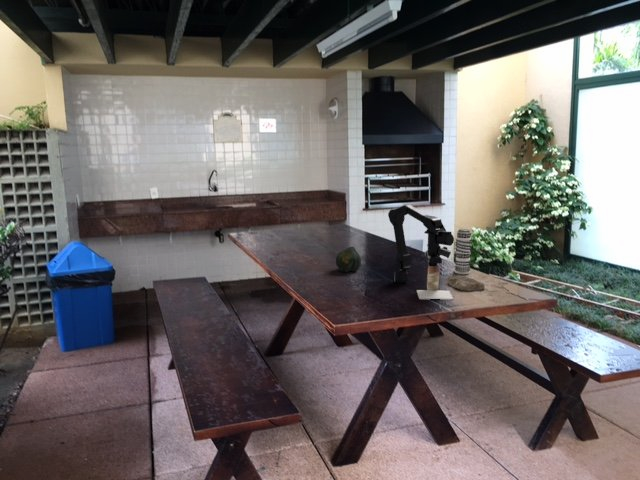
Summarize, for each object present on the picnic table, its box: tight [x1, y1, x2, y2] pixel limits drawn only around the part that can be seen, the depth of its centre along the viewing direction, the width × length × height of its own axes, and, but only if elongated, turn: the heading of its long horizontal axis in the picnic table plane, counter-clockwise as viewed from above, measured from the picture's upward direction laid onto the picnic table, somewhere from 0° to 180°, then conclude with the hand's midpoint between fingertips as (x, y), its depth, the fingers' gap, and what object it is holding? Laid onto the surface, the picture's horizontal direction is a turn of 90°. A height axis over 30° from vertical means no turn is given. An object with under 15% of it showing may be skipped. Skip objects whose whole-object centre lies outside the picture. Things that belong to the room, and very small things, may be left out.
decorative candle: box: [454, 228, 473, 275], centre depth 303 cm, size 9×9×25 cm
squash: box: [335, 246, 362, 273], centre depth 310 cm, size 14×15×15 cm
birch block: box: [426, 265, 440, 290], centre depth 266 cm, size 5×5×12 cm
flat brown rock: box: [447, 274, 486, 292], centre depth 276 cm, size 14×5×20 cm
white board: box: [416, 289, 454, 301], centre depth 259 cm, size 16×14×1 cm
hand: (432, 273), depth 268 cm, fingers closed
